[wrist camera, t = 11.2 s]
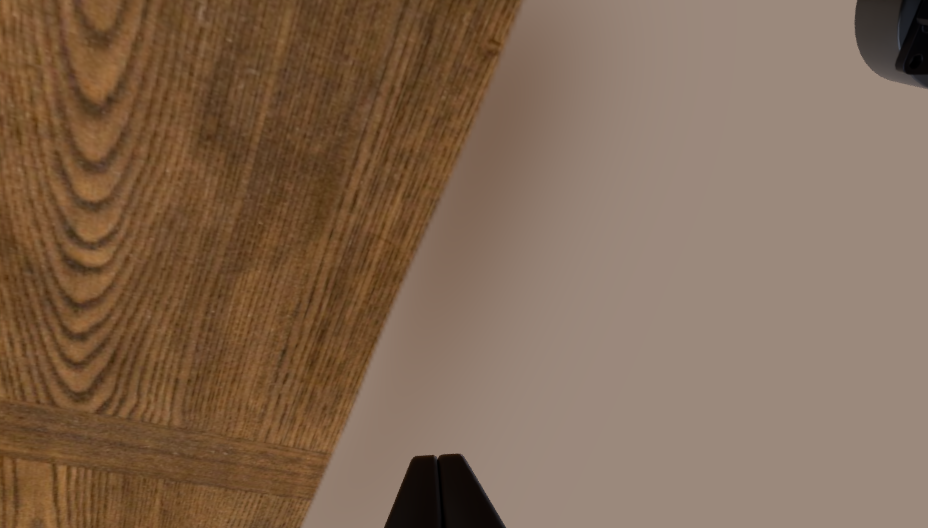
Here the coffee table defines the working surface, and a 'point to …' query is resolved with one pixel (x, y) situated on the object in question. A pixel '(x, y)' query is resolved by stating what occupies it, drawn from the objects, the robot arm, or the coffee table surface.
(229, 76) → the coffee table surface
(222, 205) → the coffee table surface
